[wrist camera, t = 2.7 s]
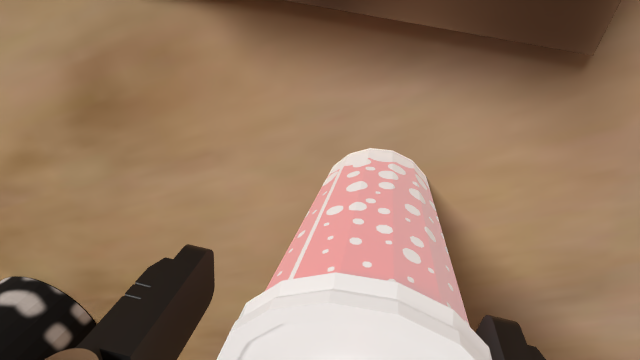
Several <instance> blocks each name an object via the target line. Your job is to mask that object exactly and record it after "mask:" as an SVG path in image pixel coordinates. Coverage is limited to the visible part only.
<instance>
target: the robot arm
mask: <svg viewBox="0 0 640 360" xmlns="http://www.w3.org/2000/svg"><path fill="white" fill-rule="evenodd" d="M213 293H214V254H213V251H212V250H210V249H206V248H202V247H197V246H193V245H189V244H188V245H186V246H184V247H183V248H182V250H181V251H180V252H179V253H178V254H177V256H176V257H175V258H174V259H169V258H164V259H162V260H160V261H159V262H157V263H155V264H154V265H152V266H150V267H149V268H147V270H146V271H145V272H144V273H143V274H142V275H141V276H140V277H139V278H138V280H137V281H136V283H135V285H134V284H133V285H132V286H131V287H130V288H129V290H128V291H127V292H126V293H125V296H122V297H121V298H120V300H119V301H118V302H117V303H116V304H115V305H114V306H113V307H112V308H111V310H110V311H109V312H108V313H107V314H106V315H105V316H104V317H103V318H102V320H101V321H100V322H99V323H98V324H97V325H96V326H95V327H94V328H93V330H92V331H91V332H90V333H89V334H88V335H87V336H86V337H85V338H84V340H83V341H82V342H81V343H80V344H79V345H78V346H76V347H75V348H74V349H68V350H64V351H61V352H58V353H56V354H54V355H52V356H50V357H48V358H46V359H45V360H177V358H178V357H179V355H180V353H181V352H182V350H183V348H184V347H185V345H186V343H187V342H188V340H189V338H190V337H191V335H192V333H193V331H194V330H195V328H196V326H197V325H198V323H199V321H200V320H201V318H202V316H203V315H204V313H205V311H206V310H207V308H208V306H209V304H210V302H211V299H212V296H213ZM476 334H477V335H478V336H479V337H480V338H481V339H482V340H483V341H484V342H485V344H486V345H487V346H488V347H489V349H490V353H491V357H492V360H546V359H545V358H544V357H543V355H542V354H541V353H540V351H539V350H538V349H537V348H536V347H534V346H529V345H527V343H526V341H525V338H524V335H523V333H522V330H521V328H520V326H519V324H518V323H517V322H515V321H511V320H506V319H502V318H498V317H494V316H489V315H486V316H485V317H484V318H483V319H482V321H481V323H480V325H479V327H478V329H477V331H476Z"/></svg>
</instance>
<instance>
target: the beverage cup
mask: <svg viewBox="0 0 640 360" xmlns="http://www.w3.org/2000/svg"><path fill="white" fill-rule="evenodd" d="M217 360H492V357H491V353H490V349H489V347H488V346H487V345H486V344H485V342H484V341H483V340H482V339H481V338H480V337H479V336H478V335H477V334H476V333H475V332H474V331H473V330H472V329H471V328H470V325H469V322H468V319H467V315H466V312H465V308H464V305H463V301H462V298H461V295H460V291H459V288H458V284H457V281H456V277H455V274H454V271H453V267H452V264H451V260H450V257H449V254H448V250H447V247H446V243H445V240H444V236H443V233H442V230H441V226H440V223H439V219H438V216H437V212H436V209H435V206H434V202H433V199H432V195H431V192H430V188H429V185H428V182H427V178H426V176H425V175H424V173H423V172H422V171H421V170H420V169H419V168H418V166H417V165H416V164H415V163H414V162H413V161H412V160H410V159H408V158H406V157H404V156H403V155H401V154H399V153H397V152H395V151H393V150H383V149H373V148H369V149H365V150H362V151H358V152H354V153H351V154H348V155H347V156H346V157H345V158H343V159H342V160H341V161H339V162H338V163H337V164H335V165H334V166H333V168H332V170H331V171H330V173H329V175H328V177H327V179H326V180H325V182H324V184H323V186H322V188H321V190H320V191H319V193H318V195H317V197H316V199H315V201H314V202H313V204H312V206H311V208H310V210H309V212H308V213H307V215H306V217H305V219H304V221H303V223H302V224H301V226H300V228H299V230H298V232H297V234H296V235H295V237H294V239H293V241H292V243H291V245H290V246H289V248H288V250H287V252H286V254H285V255H284V257H283V259H282V261H281V263H280V265H279V266H278V268H277V270H276V272H275V274H274V276H273V277H272V279H271V281H270V283H269V285H268V287H267V288H266V290H265V292H263V293H261V294H260V295H258V296H257V297H255V298H253V299H252V300H250V301H249V302H247V303H246V304H245V306H244V308H243V310H242V313H241V315H240V317H239V319H238V320H237V321H235V323H234V325H233V327H232V329H231V331H230V333H229V335H228V337H227V339H226V341H225V344H224V346H223V348H222V350H221V352H220V354H219V356H218V358H217Z"/></svg>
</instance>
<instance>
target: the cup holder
mask: <svg viewBox="0 0 640 360" xmlns="http://www.w3.org/2000/svg"><path fill="white" fill-rule="evenodd" d="M286 1H291V2H297V3H303V4H308V5H314V6H319V7H325V8H330V9H336V10H342V11H347V12H353V13H358V14H364V15H369V16H375V17H381V18H386V19H392V20H397V21H403V22H408V23H414V24H420V25H425V26H431V27H436V28H442V29H448V30H453V31H459V32H464V33H470V34H475V35H481V36H487V37H492V38H498V39H503V40H509V41H514V42H520V43H526V44H531V45H537V46H542V47H548V48H553V49H559V50H565V51H570V52H576V53H581V54H587V55H594V53H595V51H596V49H597V47H598V45H599V43H600V41H601V39H602V37H603V35H604V33H605V31H606V29H607V27H608V25H609V23H610V21H611V19H612V17H613V15H614V13H615V12H616V10H617V8H618V6H619V4H620V2H621V0H286Z"/></svg>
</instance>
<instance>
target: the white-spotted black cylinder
mask: <svg viewBox="0 0 640 360" xmlns="http://www.w3.org/2000/svg"><path fill="white" fill-rule="evenodd" d="M95 326H96V325H95V323H94V321H93V320H92V318H91V317H90V316H89V315H88V314H87V313H86V311H85V310H84V309H83V308H82V307H80V306H79V305H78V304H77V303H76V302H75V301H74V300H72V299H71V298H70V297H68V296H67V295H66V294H64V293H62V292H61V291H59V290H57V289H56V288H54V287H52V286H50V285H48V284H45V283H43V282H40V281H37V280H34V279H31V278H25V277H9V278H5V279H3V280H1V281H0V360H45V359H46V358H48V357H50V356H52V355H54V354H56V353H58V352H61V351H64V350H68V349H74V348H75V347H76V346H78V345H79V344H80V343H81V342H82V341H83V340H84V338H85V337H86V336H87V335H88V334H89V333H90V332H91V331H92V330H93V328H94V327H95Z"/></svg>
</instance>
